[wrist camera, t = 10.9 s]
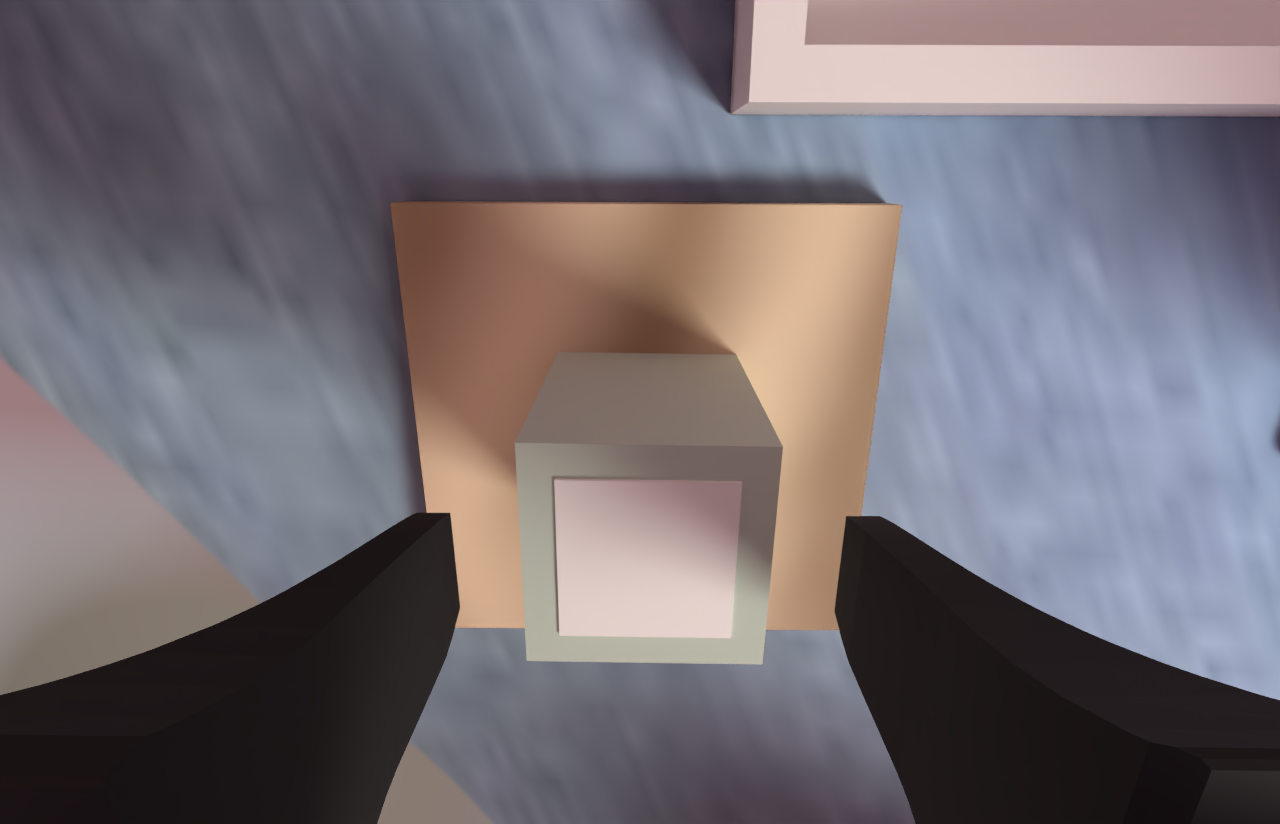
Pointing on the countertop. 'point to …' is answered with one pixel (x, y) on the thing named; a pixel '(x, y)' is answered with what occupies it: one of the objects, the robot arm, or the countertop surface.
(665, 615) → the gray box
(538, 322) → the oak board
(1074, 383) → the countertop surface
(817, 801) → the countertop surface
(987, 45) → the bin
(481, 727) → the countertop surface
